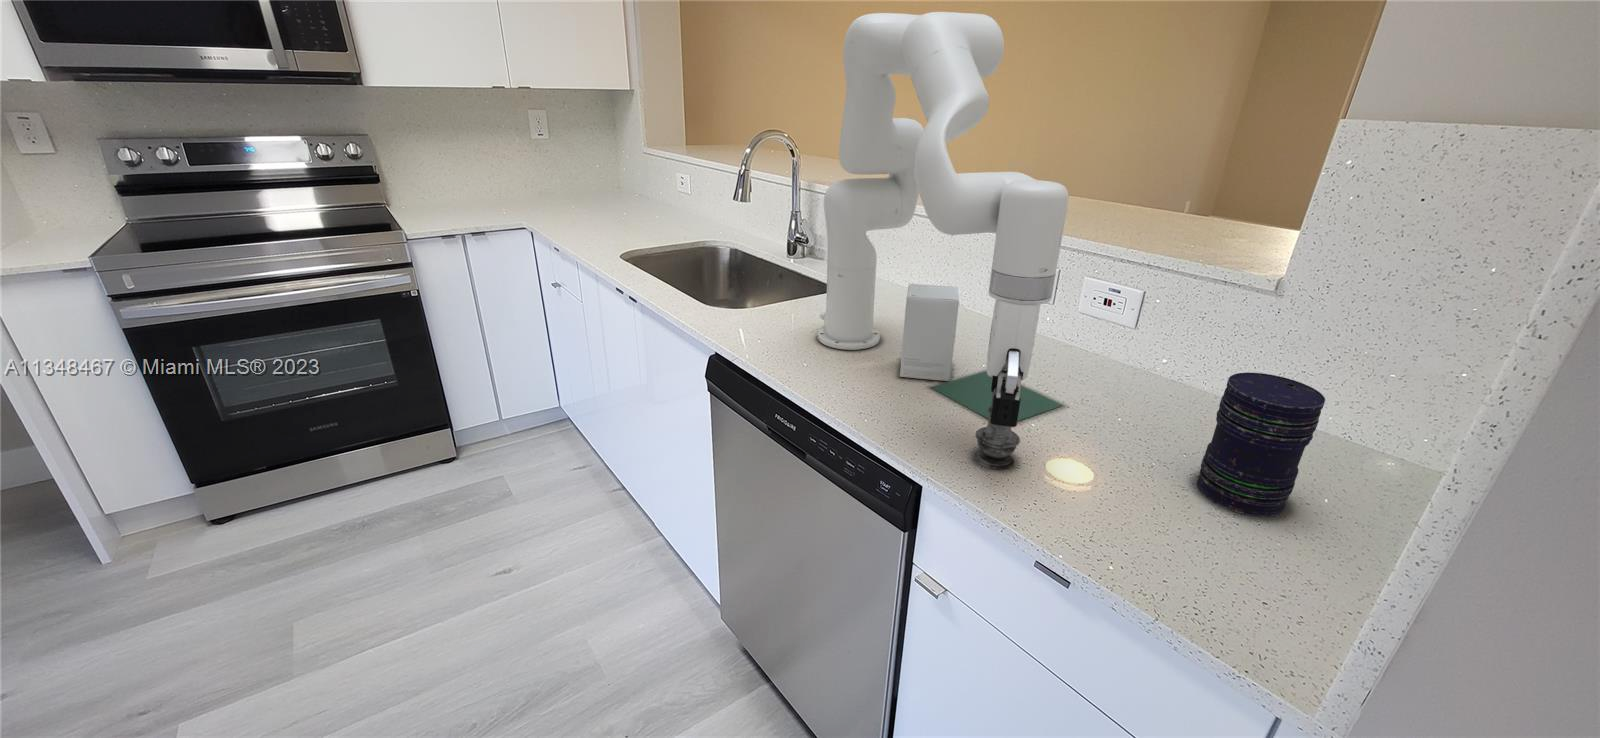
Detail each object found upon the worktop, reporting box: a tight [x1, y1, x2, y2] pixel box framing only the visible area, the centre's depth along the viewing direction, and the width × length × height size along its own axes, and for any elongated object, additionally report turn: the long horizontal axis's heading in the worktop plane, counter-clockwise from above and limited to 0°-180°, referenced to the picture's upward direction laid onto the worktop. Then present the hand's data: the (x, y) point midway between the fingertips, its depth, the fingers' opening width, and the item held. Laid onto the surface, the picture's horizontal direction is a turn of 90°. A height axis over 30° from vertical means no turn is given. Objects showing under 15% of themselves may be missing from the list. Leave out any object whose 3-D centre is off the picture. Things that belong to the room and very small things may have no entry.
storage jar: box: [1196, 372, 1326, 518], centre depth 80 cm, size 10×10×15 cm
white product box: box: [899, 283, 960, 382], centre depth 115 cm, size 9×9×15 cm
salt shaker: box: [974, 381, 1021, 470], centre depth 88 cm, size 6×6×12 cm
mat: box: [930, 370, 1063, 423], centre depth 108 cm, size 16×14×1 cm
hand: (1002, 408), depth 87 cm, fingers open, 9 cm apart
